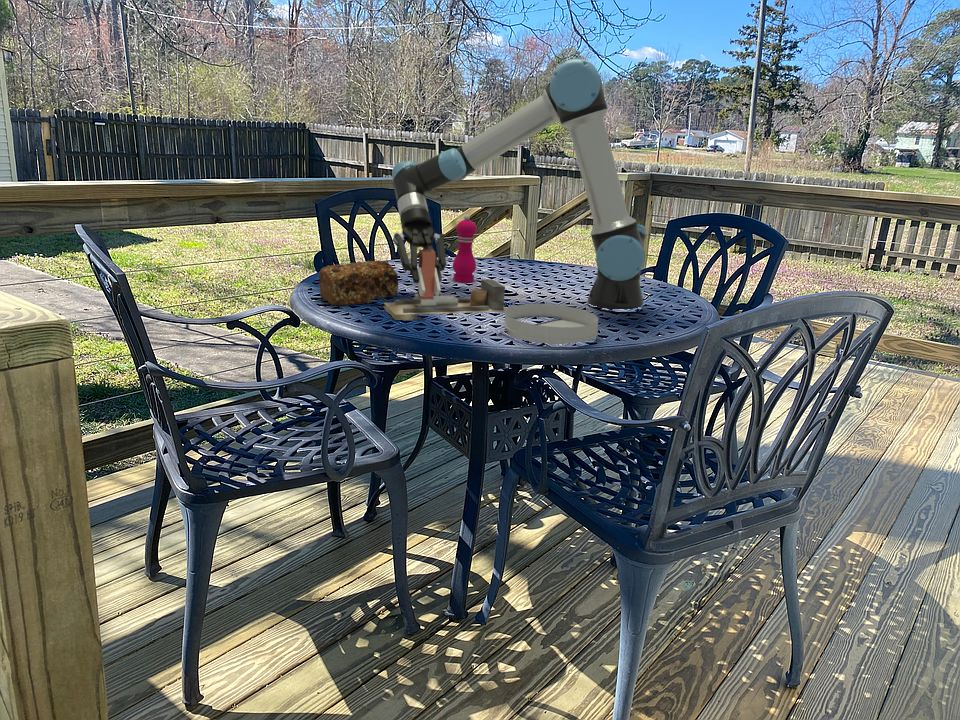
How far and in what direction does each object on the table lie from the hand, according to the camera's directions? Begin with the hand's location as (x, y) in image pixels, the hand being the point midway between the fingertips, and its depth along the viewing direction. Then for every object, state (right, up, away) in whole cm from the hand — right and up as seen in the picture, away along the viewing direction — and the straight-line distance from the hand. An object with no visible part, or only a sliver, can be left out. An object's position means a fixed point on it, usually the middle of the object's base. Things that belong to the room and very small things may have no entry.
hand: (430, 292), depth 179 cm
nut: (+11, -2, +10) cm, 15 cm away
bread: (-20, -1, +15) cm, 25 cm away
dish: (+28, -11, -6) cm, 31 cm away
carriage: (+1, -3, +6) cm, 7 cm away
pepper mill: (+7, +8, +47) cm, 48 cm away
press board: (+4, -4, +7) cm, 9 cm away
